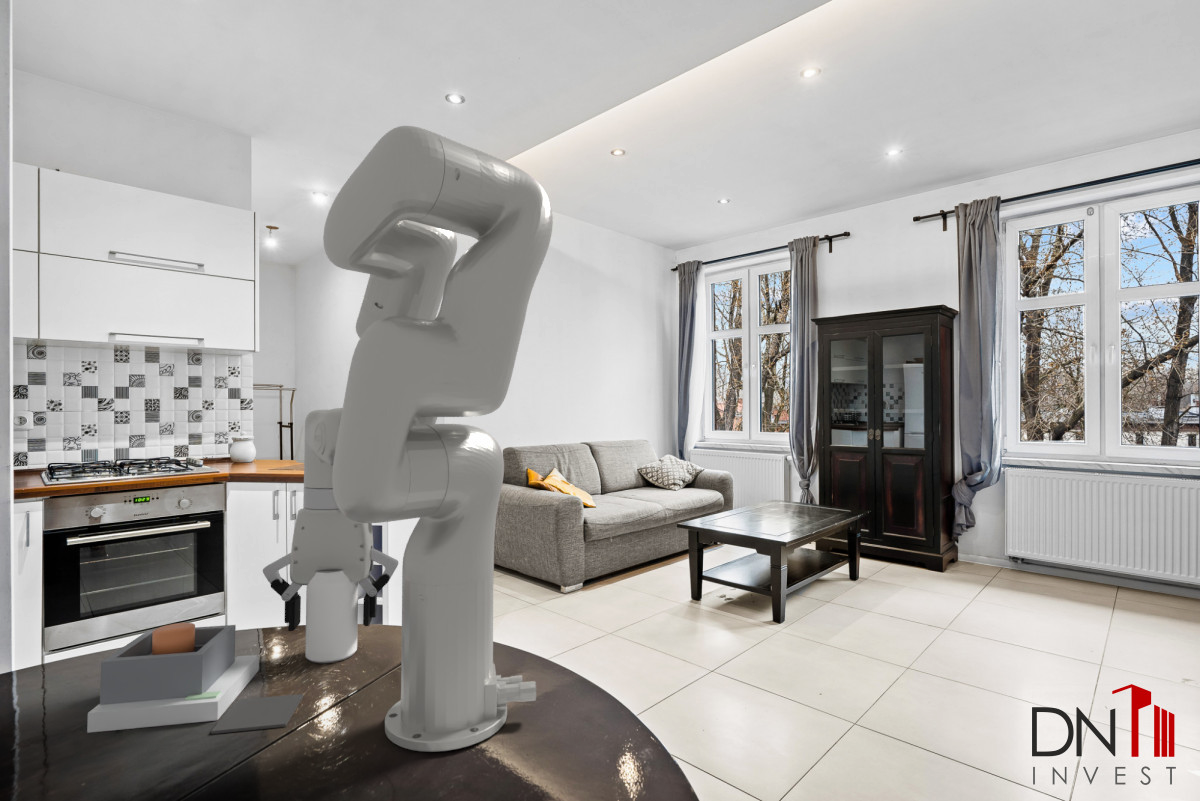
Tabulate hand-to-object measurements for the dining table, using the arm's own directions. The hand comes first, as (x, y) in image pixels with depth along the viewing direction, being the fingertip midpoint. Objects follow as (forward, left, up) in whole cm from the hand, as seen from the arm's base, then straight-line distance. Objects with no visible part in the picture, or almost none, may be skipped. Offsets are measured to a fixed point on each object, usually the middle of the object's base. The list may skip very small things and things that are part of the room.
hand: (331, 625), depth 82 cm
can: (0, 0, -4) cm, 4 cm away
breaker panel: (+14, +10, -4) cm, 18 cm away
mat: (+4, +16, -4) cm, 17 cm away
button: (+15, +10, +1) cm, 18 cm away
